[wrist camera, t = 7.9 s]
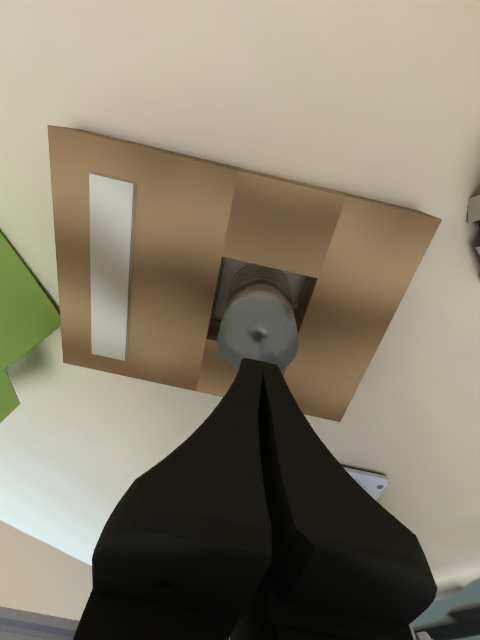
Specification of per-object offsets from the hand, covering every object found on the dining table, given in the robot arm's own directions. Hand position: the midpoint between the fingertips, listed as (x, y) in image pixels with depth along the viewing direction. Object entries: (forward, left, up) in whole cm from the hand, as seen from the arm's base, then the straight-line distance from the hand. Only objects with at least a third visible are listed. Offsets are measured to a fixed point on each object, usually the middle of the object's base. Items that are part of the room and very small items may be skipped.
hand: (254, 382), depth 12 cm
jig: (0, +2, -8) cm, 9 cm away
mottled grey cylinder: (0, 0, -9) cm, 9 cm away
